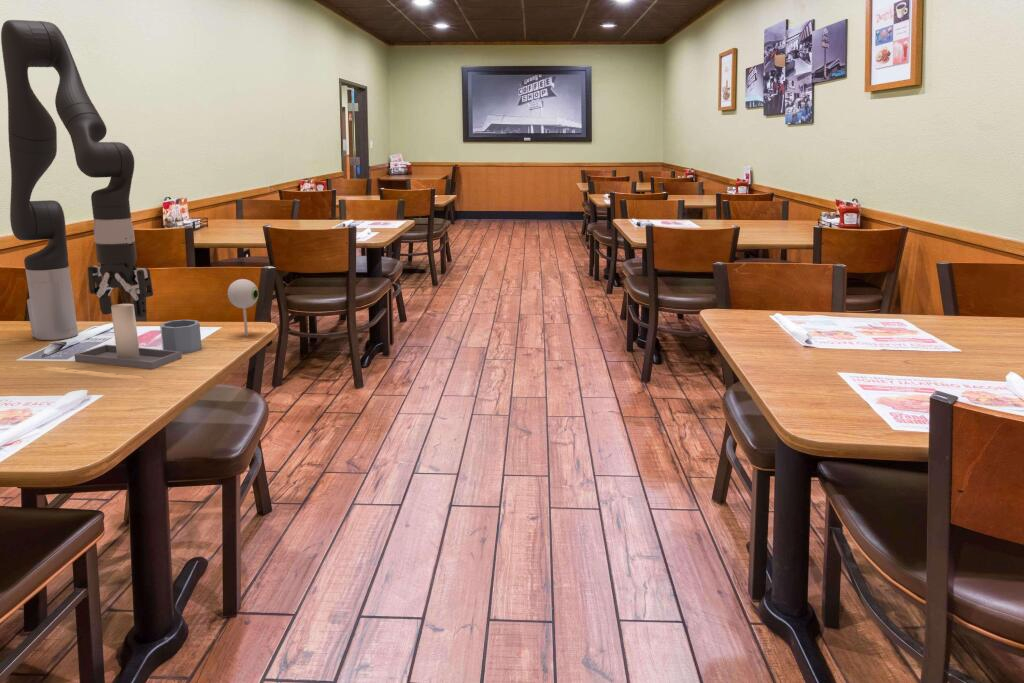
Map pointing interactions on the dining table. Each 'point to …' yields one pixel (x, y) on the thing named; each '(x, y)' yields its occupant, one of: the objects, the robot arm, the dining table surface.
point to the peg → (125, 331)
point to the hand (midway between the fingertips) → (123, 315)
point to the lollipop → (243, 296)
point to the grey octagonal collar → (181, 336)
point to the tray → (146, 361)
